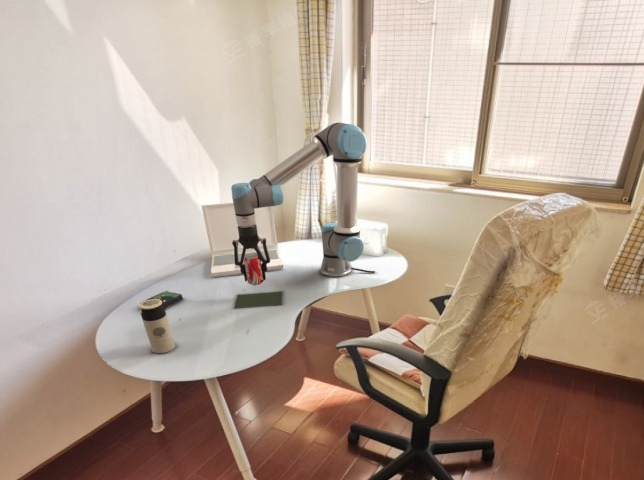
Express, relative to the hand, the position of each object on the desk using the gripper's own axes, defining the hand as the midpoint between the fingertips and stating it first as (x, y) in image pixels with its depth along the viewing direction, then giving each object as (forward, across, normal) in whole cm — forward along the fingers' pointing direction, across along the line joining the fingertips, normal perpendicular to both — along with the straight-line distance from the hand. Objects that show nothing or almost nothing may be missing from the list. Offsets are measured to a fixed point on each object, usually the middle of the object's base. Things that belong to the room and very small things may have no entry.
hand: (255, 279), depth 196 cm
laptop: (+10, -9, +45) cm, 47 cm away
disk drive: (+10, -42, +3) cm, 43 cm away
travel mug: (+10, -32, -37) cm, 50 cm away
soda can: (+2, 0, 0) cm, 2 cm away
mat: (+9, 0, 0) cm, 9 cm away
